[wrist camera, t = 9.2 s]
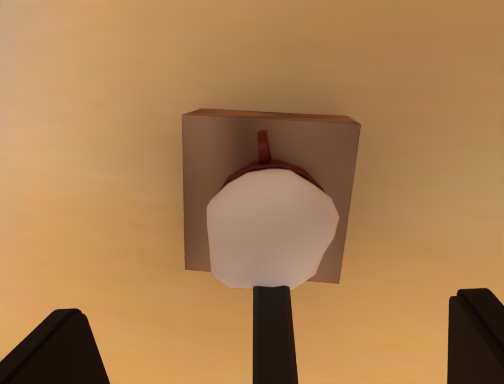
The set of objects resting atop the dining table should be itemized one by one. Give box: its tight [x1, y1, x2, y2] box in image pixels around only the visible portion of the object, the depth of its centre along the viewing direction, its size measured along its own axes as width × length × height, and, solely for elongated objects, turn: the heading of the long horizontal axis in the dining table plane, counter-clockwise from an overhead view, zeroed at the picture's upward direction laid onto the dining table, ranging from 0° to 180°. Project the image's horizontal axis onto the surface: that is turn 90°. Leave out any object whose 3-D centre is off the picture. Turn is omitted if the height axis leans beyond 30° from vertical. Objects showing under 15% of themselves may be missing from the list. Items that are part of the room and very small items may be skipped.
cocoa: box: [207, 130, 339, 384], centre depth 15 cm, size 10×6×12 cm, turn 163°
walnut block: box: [182, 109, 361, 284], centre depth 23 cm, size 10×10×5 cm
